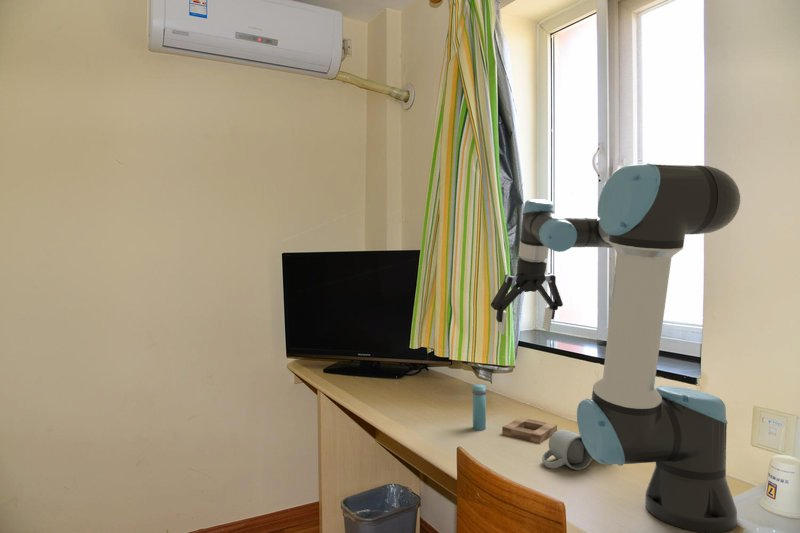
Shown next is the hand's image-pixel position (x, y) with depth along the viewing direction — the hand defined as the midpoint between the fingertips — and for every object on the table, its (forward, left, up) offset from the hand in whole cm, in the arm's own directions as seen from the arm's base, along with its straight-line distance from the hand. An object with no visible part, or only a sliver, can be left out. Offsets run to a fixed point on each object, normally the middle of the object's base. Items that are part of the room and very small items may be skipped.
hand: (523, 330), depth 146 cm
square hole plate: (-1, -2, -28) cm, 28 cm away
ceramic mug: (-16, -18, -28) cm, 37 cm away
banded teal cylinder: (-6, +11, -28) cm, 31 cm away
